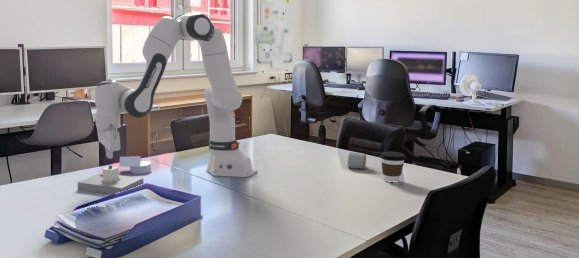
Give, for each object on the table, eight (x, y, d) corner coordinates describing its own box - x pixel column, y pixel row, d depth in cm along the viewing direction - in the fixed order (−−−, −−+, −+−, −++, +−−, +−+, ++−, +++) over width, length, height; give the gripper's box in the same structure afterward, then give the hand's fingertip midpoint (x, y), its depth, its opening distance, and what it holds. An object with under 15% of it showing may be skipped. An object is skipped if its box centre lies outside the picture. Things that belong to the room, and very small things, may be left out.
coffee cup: (404, 185, 208) (406, 158, 206) (378, 183, 210) (379, 156, 208) (403, 178, 219) (405, 152, 216) (378, 176, 221) (380, 150, 218)
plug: (119, 183, 197) (118, 164, 195) (112, 186, 193) (111, 167, 192) (110, 182, 198) (109, 163, 197) (103, 185, 194) (102, 166, 193)
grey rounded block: (364, 170, 230) (365, 154, 229) (347, 169, 232) (348, 153, 230) (366, 165, 240) (367, 150, 239) (349, 164, 242) (350, 148, 240)
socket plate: (143, 185, 200) (143, 176, 199) (122, 195, 186) (121, 186, 186) (101, 180, 205) (100, 171, 204) (77, 189, 192) (77, 180, 191)
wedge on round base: (119, 174, 214) (150, 173, 217) (118, 159, 213) (150, 158, 216) (121, 168, 223) (151, 167, 226) (120, 154, 221) (151, 153, 224)
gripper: (124, 126, 184) (125, 162, 187) (110, 118, 201) (111, 151, 203) (106, 127, 181) (107, 164, 183) (93, 119, 197) (95, 153, 200)
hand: (109, 157), depth 193 cm, fingers closed
